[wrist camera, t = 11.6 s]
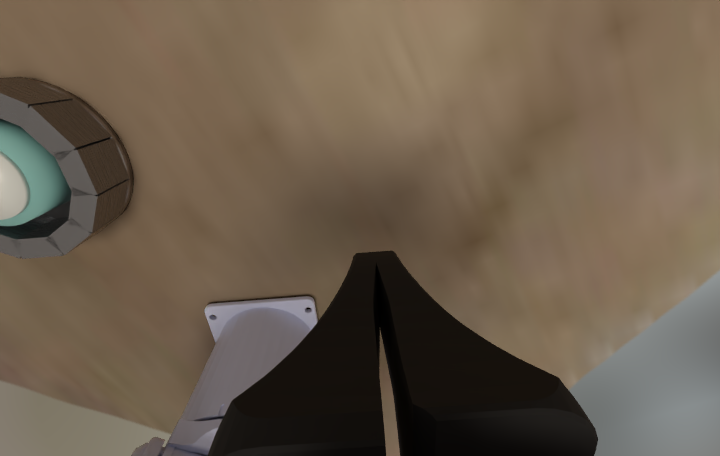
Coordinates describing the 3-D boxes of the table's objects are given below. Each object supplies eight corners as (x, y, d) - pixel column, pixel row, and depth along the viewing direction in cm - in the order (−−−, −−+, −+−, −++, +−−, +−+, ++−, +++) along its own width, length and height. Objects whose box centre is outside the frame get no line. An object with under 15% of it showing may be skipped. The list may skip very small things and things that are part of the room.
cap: (101, 197, 20) (56, 222, 17) (21, 207, 20) (-39, 233, 17) (58, 111, 18) (-3, 121, 15) (-32, 122, 18) (-111, 135, 15)
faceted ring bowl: (154, 224, 22) (122, 250, 19) (16, 235, 22) (-37, 263, 19) (95, 71, 18) (42, 73, 15) (-74, 85, 18) (-161, 90, 15)
